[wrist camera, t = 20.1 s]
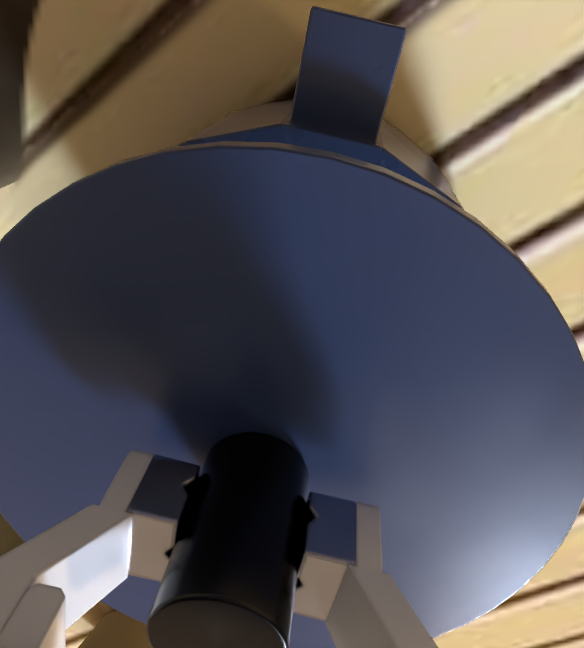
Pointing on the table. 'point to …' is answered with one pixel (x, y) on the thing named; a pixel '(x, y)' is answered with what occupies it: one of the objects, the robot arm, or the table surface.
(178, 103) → the table surface
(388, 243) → the lid
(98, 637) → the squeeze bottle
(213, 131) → the pot
